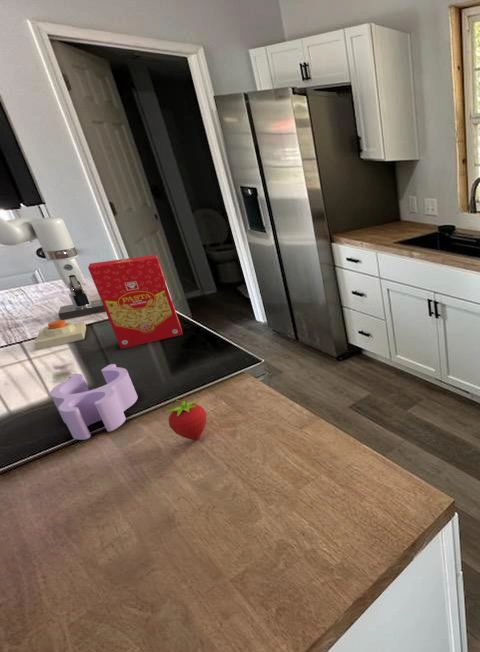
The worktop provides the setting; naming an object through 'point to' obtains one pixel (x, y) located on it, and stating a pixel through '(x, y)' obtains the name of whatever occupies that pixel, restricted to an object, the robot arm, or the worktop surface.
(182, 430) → the strawberry
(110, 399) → the clip
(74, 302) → the hob dial
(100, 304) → the hob panel
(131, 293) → the food packaging
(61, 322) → the kettle button
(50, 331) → the cream flat block
